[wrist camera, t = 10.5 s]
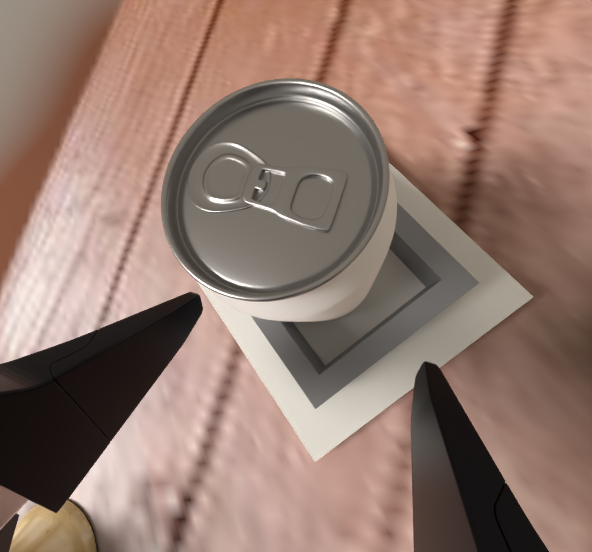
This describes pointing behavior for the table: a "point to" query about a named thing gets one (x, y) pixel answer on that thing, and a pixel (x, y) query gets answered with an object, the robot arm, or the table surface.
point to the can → (282, 201)
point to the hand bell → (53, 531)
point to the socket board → (380, 327)
